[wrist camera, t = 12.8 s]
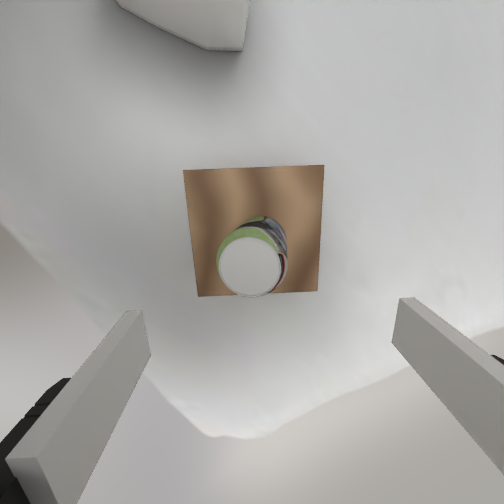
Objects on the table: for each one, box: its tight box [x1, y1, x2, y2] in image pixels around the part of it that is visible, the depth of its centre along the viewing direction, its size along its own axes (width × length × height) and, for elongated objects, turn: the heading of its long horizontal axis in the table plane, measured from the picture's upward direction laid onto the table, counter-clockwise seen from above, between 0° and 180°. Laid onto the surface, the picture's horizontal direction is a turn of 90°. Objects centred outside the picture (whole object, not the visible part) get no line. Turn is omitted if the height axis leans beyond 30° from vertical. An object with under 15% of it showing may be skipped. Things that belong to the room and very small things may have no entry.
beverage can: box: [216, 216, 288, 297], centre depth 25 cm, size 6×7×12 cm
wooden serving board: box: [183, 165, 324, 297], centre depth 32 cm, size 16×16×4 cm
